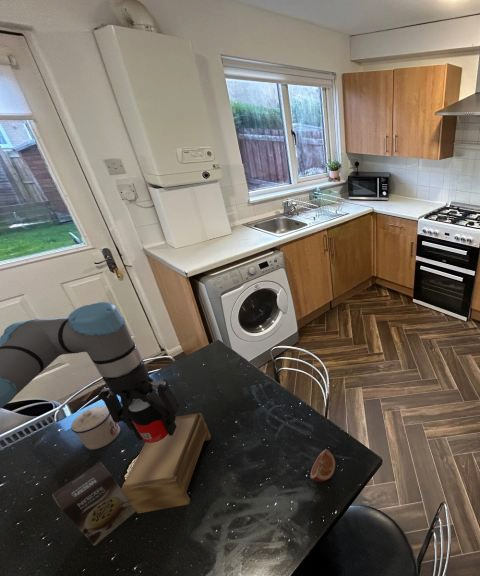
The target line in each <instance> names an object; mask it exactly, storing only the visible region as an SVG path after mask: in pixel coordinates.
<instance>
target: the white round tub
mask: <svg viewBox="0 0 480 576" xmlns="http://www.w3.org/2000/svg"><path fill="white" fill-rule="evenodd" d="M70 428H71V429H70V430H71V431H72V432H73V433H74V434H75V435H76V436H77V437H78V439H79V440H80V441H81V443H82V444H83V445H84V446H85V448H87V449H88V450H97V449H101V448H103V447H106V446H107V445H109V444H111V443H112V442H113V441H114V440H115V439H116V438H117V437H118V436H119V434H120V432H121V427H120V426H119V424H118V423H115V422H114V421H113V419H112V417H111V415H110V413H109V411H108V409H107V407H106V406H103V405H101V406H94V407H91V408H89V409H87V410H85V411H83V412H82V413H80V414H78V415H77V416H76V417H75V418H74V419H73V421H72V423H71V426H70Z"/></svg>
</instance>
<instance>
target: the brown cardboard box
mask: <svg viewBox="0 0 480 576" xmlns="http://www.w3.org/2000/svg"><path fill="white" fill-rule="evenodd" d="M121 488H122V487H120V485H119V484H118V483H117V481H116V480H115V478H114V477H113V475H112V474H111V472H110V471H109V470H108V469H107V467H106V466H105V465H104V464H103V463H102V462H101V461H99V462H97V463H96V464H94V465H93V466H92V467H90V468H88V469H86V470H85V471H84V472H83V473H81V474H79V475H78V476H77V477H75V478H74V479H72V480H71V481H69V482H68V483H66V484H64V485H63V486H62V487H61V488H59V489H58V490H56V491H54V492H53V493H52V498H53V499H54V501H55V503H56V504H57V505H58V507H59V508H60V510H61V511H62V512H63V513H64V514H65V515H66V517H67V518H68V519H69V520H70V521H71V522H72V523H73V524H74V525H75V527H77V528H78V530H79V531H80V532H81V533H82V534H83V535H84V536H85V537H86V539H87V540H89V542H90V543H91V544H92V545H93V546H97V545H98V544H99V543H100V542H101V541H102V540H103V539H105V538H106V537H107V536H108V535H109V534H111V533H112V532H113V531H114V530H116V529H117V528H118V527H119V526H121V525H122V524H123V523H124V522H125V521H127V520H128V519H129V518H130V517H132V516H133V515H134V514H135V513H137V512H136V510H135V509H134V507H133V506H132V505H131V503H130V502H129V501H128V499H127V498H126V497H125V495H124V494H123V493H122V491H121Z"/></svg>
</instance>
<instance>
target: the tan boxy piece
mask: <svg viewBox="0 0 480 576" xmlns="http://www.w3.org/2000/svg"><path fill="white" fill-rule="evenodd" d="M175 417H176V420H175V424H176V426H177V427H176V429H175V431H174V433H173V435H172V436H169V434H168V435H167V436H166V437H165V438H163V439H162V440H160V441H157V442H154V443H147V442H145V441H144V444H143V446H142V448H141V450H140V452H139V454H138V456H137V457H136V460H135V462H134V463H133V465H132V467H131V469H130V471H129V473H128V475H127V476H126V479H125V481H124V482H123V484H122V486H121V487H120V488H121V491H122V493H123V494H124V495H125V497H126V498H127V499H128V501H129V502H130V503H131V505H132V506H133V507H134V509H135V510H136V512H135V513H137V514H142V513H149V512H155V511H160V510H165V509H171V508H175V507H182V506H187V505H190V502H191V497H189V494H188V492H187V491H188V489H189V486H190V483H191V480H192V477H193V474H194V471H195V468H196V465H197V462H198V461H199V460H198V459H199V457H200V454H201V451H202V448H203V445H204V442H205V441H210V440H211V438H212V435H211V433H210V430H209V428H208V425H207V423H206V421H205V417H204V416H203V413H202V412H200V413H192V414H186V415H179V416H178V415H177V416H175Z"/></svg>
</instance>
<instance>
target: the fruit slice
mask: <svg viewBox="0 0 480 576" xmlns="http://www.w3.org/2000/svg"><path fill="white" fill-rule="evenodd" d="M335 470H336V459H335V457H334V455H333V454H332V452H331V451H330V450H329V449H327V448H325V449H324V450H322V451H321V452H320V453H319V454H318V455H317V458H316V460H315V461H314V463H313V465H312V467H311V469H310V473H309V474H310V475H309V478H310V479H311V480H312V481H314V482H317V483H321V482H326V481H328V480H329V479H331V478H332V476H333V475H334V473H335V472H336V471H335Z"/></svg>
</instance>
